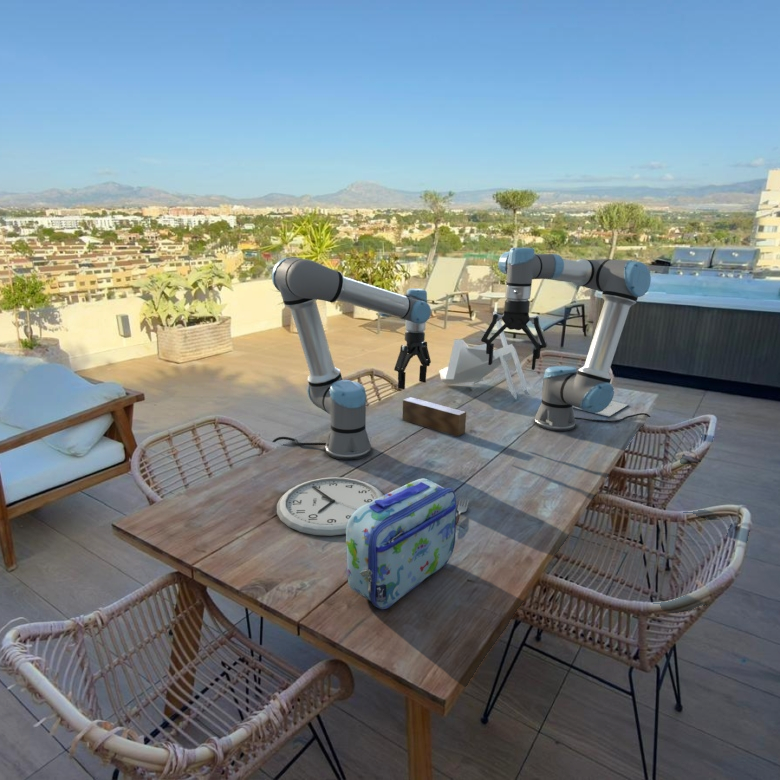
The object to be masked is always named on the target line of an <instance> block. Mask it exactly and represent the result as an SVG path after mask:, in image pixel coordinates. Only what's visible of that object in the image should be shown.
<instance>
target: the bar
mask: <svg viewBox="0 0 780 780" xmlns="http://www.w3.org/2000/svg"><path fill="white" fill-rule="evenodd" d="M401 417H402V418H401V419H402V421H405V422H408V423H411V424H415V425H418V426H421V427H424V428H427V429H431V430H435V431H437V432H441V433H444V434H447V435H452V436H454V437H460V436H462V435H464V434H466V422H467V421H466V420H467V411H464V410H460V409H457V408H453V407H449V406H445V405H441V404H438V403H434V402H430V401H427V400H423V399H419V398H415V397H412V396H410V397H406V398H405V399H403V400H402V416H401Z"/></svg>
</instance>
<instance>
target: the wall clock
mask: <svg viewBox="0 0 780 780" xmlns="http://www.w3.org/2000/svg"><path fill="white" fill-rule="evenodd" d="M384 495H385V494H384V493H383V492H382V491H381V490H380V489H379V488H377V487H376V486H374V485H372V484H371V483H369V482H365V481H362V480H359V479H355V478H349V477H338V476H337V477H335V476H333V477H332V476H331V477H322V478H317V479H312V480H307V481H305V482H302V483H299V484H297V485H295V486H293V487H292V488H290V489H288V490H287V491H286V492H285V493H284V494H283V495H281V496H280V498H279V499H278V502H277V503H276V515H277V517H278V518H279V520H280V521H281V522H282V523H283V524H285V525H286V526H287V527H288V528H290V529H293V530H295V531H297V532H299V533H303V534H308V535H312V536H327V537H328V536H329V537H331V536H332V537H333V536H342V535H346V528H347V524H348V521H349V519H350V517H351V515H352V514H353V513H354V512H355V511H356V510H357V509H358V508H360V507H362V506H364V505H366V504H368V503H370V502H372V501H374V500H376V499H378V498H380V497H382V496H384Z"/></svg>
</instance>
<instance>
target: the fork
mask: <svg viewBox="0 0 780 780" xmlns="http://www.w3.org/2000/svg"><path fill="white" fill-rule="evenodd" d="M464 498H465V497H460V499H459V502H458V505H457V506H456V512H458V513H457V514H456V526H457V525H458V524H459V520H460V516H461V514H463V513H465V512H467V511H468V506H469V500H470V498H467V499H464ZM466 501H467V502H466Z"/></svg>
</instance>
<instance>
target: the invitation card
mask: <svg viewBox="0 0 780 780" xmlns="http://www.w3.org/2000/svg"><path fill="white" fill-rule="evenodd" d="M628 406H629V404H627V403H623V402H618V401H614V400H612V401H611V402H610V404H609V405H608V406H607V407H606V408H605V409H604V410H603V411H601V412H598V413H595V414H596V415H600V416H604V417H608V418H609V417H611V416H613V415H614V414H616V413H617V412H619V411H621V410H623V409H624V408H626V407H628ZM573 409H575V410H581V411H584V410H583V409H581V408H578V407H575V406H573ZM587 413H590V412H589V411H587Z"/></svg>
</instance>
